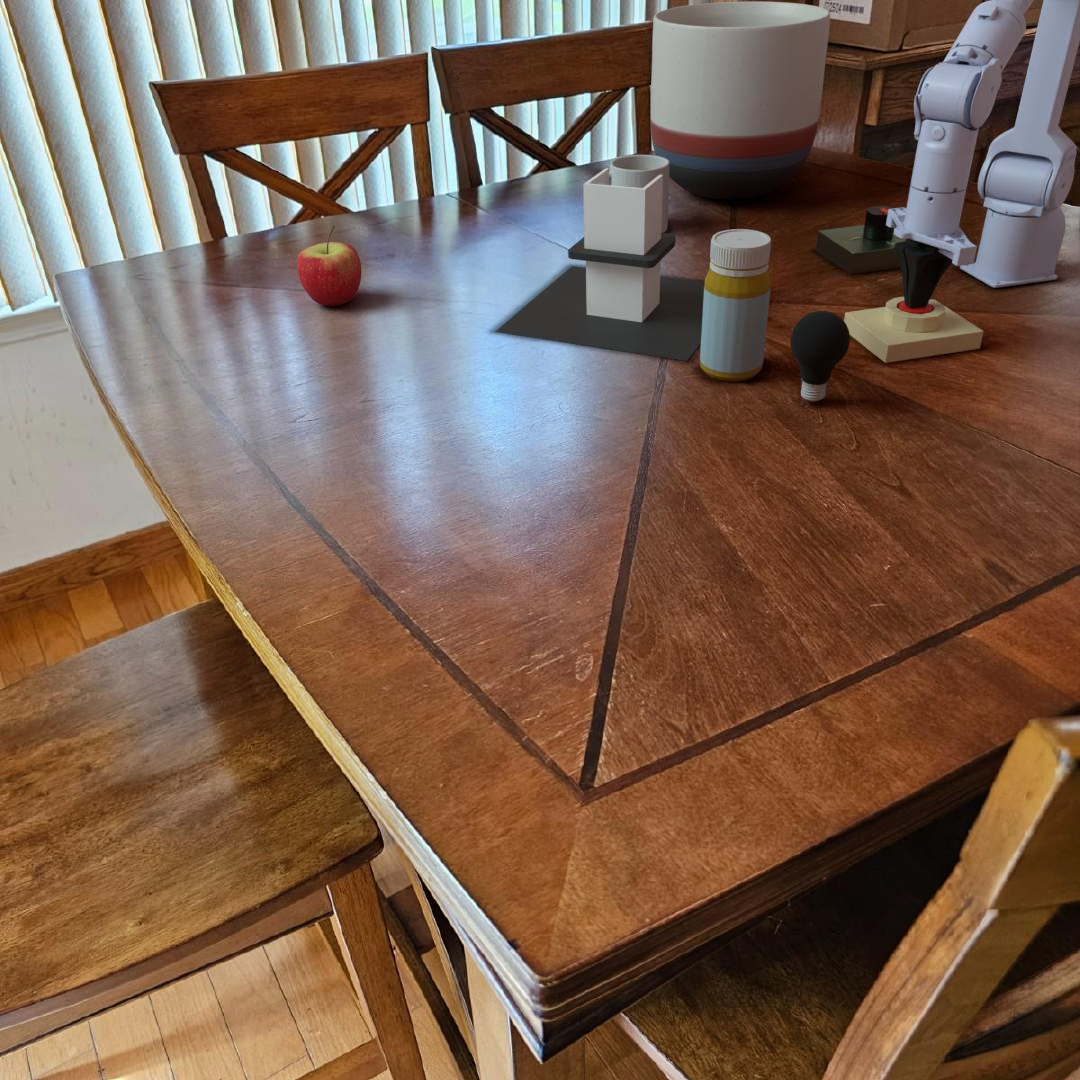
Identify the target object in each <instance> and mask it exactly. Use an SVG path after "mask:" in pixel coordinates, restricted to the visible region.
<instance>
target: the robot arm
mask: <svg viewBox="0 0 1080 1080" xmlns="http://www.w3.org/2000/svg"><path fill="white" fill-rule="evenodd" d="M1034 1H1035V0H987V1H984V2H981V3H980V4H978V5H977V6H976V7H975V8H974V9H973V10H972V12H971V14H970V15H969V17H968V19H967V21H966V22H965V24H964V26H963V27H962V29H961V30H960V33H959V34H958V36H957V38H956V39H955V41H954V43H953V45H952V46H951V48H950V50H949V51H948V53H947V55H946V56H945V58H944V60H943V61H942V62H938V63H937V64H935V65H934V66H931V67H929V68H928V69H927V70H926V71H924V74H923V75H922V77H921V79H920V82H919V85H918V87H917V91H916V95H914V101H913V114H914V119H915V126H914V132H913V135H914V139H915V140H916V141H917V146H916V150H915V156H914V162H913V163H914V164H913V167H912V173H911V180H910V186H909V192H908V197H907V202H906V207H904V206H903V207H901V206H900V207H895V208H894V207H892V208H893V209H889V210H888V216H887V222H886V226H888V227H890V228H894V227H896V228H895V229H894V235H895V236H897V237H899V238H901V239H906V241H904V242H898V243H896V244H895V247H894V250H895V252H896V254H897V257H898V260H899V263H900V267H901V268H900V271H901V278H902V287H903V297H904V301H905V305H906V306H907V307H909V308H910V309H915V308H922V307H926V306H927V304H928V302H929V300H930V299H931V297H932V296H933V294H934V291H935V289H936V288H937V285H938V284H939V282H940V280H941V278H942V277H943V275H944V274H945V273H946V271H947V270H948V269H949V267H950V266H951V265H954V266H956V267H959V270H962V271H963V272H966V273H967V274H969V275H971V276H972V277H974V278H976V279H977V280H979V281H981V282H983V283H984V284H986V285H988V286H989V287H991V288H994V289H999V288H1006V287H1013V286H1019V285H1026V284H1033V283H1040V282H1048V281H1055V280H1057V279H1058V275H1057V274H1055V270H1056V267H1057V263H1058V259H1059V257H1060V256H1059V255H1060V252H1061V248H1062V245H1063V241H1064V237H1065V233H1066V218H1065V217H1066V216H1065V214H1064V212H1063V210H1062V209H1061V208H1060V207H1061V206H1062V205H1063V204H1064V203H1065V201H1066V199H1067V197H1068V195H1069V194H1070V190H1071V188H1072V184H1073V182H1074V181H1073V180H1074V176H1075V162H1076V157H1077V154H1078V153H1077V149H1078V147H1077V145H1076V144H1075V143H1074V141H1073V140H1072V139H1070V137H1069V136H1068V135H1067V134H1066V133H1064V131H1063V130H1062V129H1061V127H1060V126H1059V124H1060V121H1061V116H1062V112H1063V109H1064V104H1065V100H1066V97H1067V92H1068V89H1069V84H1070V81H1071V77H1072V73H1073V69H1074V65H1075V61H1076V57H1077V53H1078V49H1079V45H1080V0H1043V2H1042V6H1041V10H1040V14H1039V18H1038V24H1037V28H1036V32H1035V36H1034V41H1033V44H1032V50H1031V53H1030V58H1029V62H1028V66H1027V70H1026V75H1025V79H1024V84H1023V89H1022V92H1021V97H1020V101H1019V106H1018V110H1017V113H1016V114H1017V115H1016V119H1015V123H1014V126H1013V127H1011V128H1010V129H1008V130H1006V131H1004V132H1002V133H1001V134H1000V135H998V136H997V137H995V138H994V139H993V140H992V142H990V145H989V146H988V151H987V153H986V157H985V160H984V162H983V163H982V165H981V168H980V172H979V175H978V179H977V192H978V194H979V197H980V199H981V200H984V201H983V205H982V206H983V208H987V209H986V215H985V219H984V224H983V227H982V231H981V238H980V242H979V245H978V246H977V245H976V244H974V243H973V242H971V241H970V240H969V238H968V237H967V235H966V233H964V231H963V230H962V228H961V227H960V221H961V216H962V212H963V207H964V203H965V198H966V193H967V187H968V182H969V178H970V173H971V168H972V164H973V159H974V153H975V149H976V144H977V139H978V134H979V130H980V127H982V126H983V125H984V124H985V123H986V121H987V119H988V118H989V116H990V114H991V112H992V111H993V108H994V106H995V102H996V98H997V94H998V92H999V89H1000V87H1001V84H1002V82H1003V79H1002V78H1003V77H1002V73H1003V71H1004V69H1005V67H1006V66H1007V64H1008V62H1009V61H1010V59H1011V57H1012V56H1013V54H1014V52H1015V51H1016V49H1017V48H1018V46H1019V44H1020V42H1021V41H1022V39H1023V38H1024V35H1025V34H1026V29H1027V23H1026V18H1025V13H1026V12H1027V11H1028V9H1029V8H1030V6H1031V5H1032V4H1033V2H1034ZM977 249H978V250H977ZM976 253H977V255H976ZM975 258H976V261H975Z"/></svg>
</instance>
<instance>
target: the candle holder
mask: <svg viewBox="0 0 1080 1080" xmlns="http://www.w3.org/2000/svg"><path fill="white" fill-rule="evenodd" d="M609 171H610V168H607V167H606V168H604V169H602V170H601V171H600V172H598V173H597V174H595V175H594V176H593V177H591V178H590V179H588V180H587V181H586V182H584V183H582V184H583V186H582V187H583V189H582V190H583V237H582V238H580V239H579V240H578V241H577V242H575V244H573V245H572V246H571V247H570V248H568V250H567V258H568V259H570V260H575V261H576V260H577V261H584V262H585V267H584V266H583V267H582V266H577V265H576V266H575V265H571V266H570V267H569V268H568V269H566V270H565V272H563V273H562V274H561V275H560V276H558V277H557V278H555V280H554V281H553V282H551V283H550V284H549V285H548V286H547V287H546V288H544V289H543V290H542V291H541V292H540V293H538V294H537V295H536V296H534V298H533V299H531V300H530V301H529V302H528V303H527V304H525V305H524V306H523V307H522V308H521V309H519V311H517V312H516V313H514V315H513V316H511V317H510V318H509V319H508V320H506V321H505V323H503V324H502V325H501V326H499V328H497V329H496V330H495V332H496V333H503V334H509V335H515V336H523V337H527V338H528V337H529V338H534V339H542V340H548V341H554V342H561V343H567V344H575V345H581V346H587V347H593V348H599V349H606V350H613V351H620V352H627V353H632V354H638V355H639V354H640V355H644V356H645V355H646V356H652V357H658V358H665V359H673V360H678V361H679V360H680V361H685V362H687V361H689V359H690V358H691V357H692V356H693V354H694V353H695V352H696V350H697V349H698V347H699V346H701V334H702V317H703V300H704V285H705V281H698V280H690V279H683V278H682V279H681V278H672V277H665V276H661V264H662V260H663V259H664V258H665V257H666V256H667V255H668V254H669V253H670V252H671V251H672V250H673V249H674V248H675V246H676V235H675V234H673V233H668V232H667V233H666V232H664V233H661V226H662V193H663V175H658V176H657V177H656V178H655V179H654V180H652V181H651V182H650V183H649V184H647V185H646V186H645V187H644V188H635V187H624V186H612V185H610V178H609Z"/></svg>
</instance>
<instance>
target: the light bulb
mask: <svg viewBox="0 0 1080 1080" xmlns="http://www.w3.org/2000/svg"><path fill="white" fill-rule="evenodd" d="M789 341H790V349H791V352H792V355H793V356H794V359H796V360H797V363H798V366H799V373H800V378H801V389H800V395H801V397H802V398H803V399H804V400H806V401H807V402H808V403H809V404H815V403H817V402H819V401H821V400H822V399H824V398H825V397H826V391H827V390H826V389H827V383H828V382H829V380H830V378H831V375H832V373H833V370H834V369H835V367H836V366H837V364H839V363H840V362H841V361H842V360H843V359H844V358H845V356H846V355H847V353H848V351H849V348H850V345H851V335H850V333H849V330H848V327H847V325H846V323H845V322H844V319H843V318H842V317H841V316H839V315H837V314H836V313H834V312H831V311H828V310H827V311H825V310H816V311H812V312H810V313H807V314H805V315H804V316H803V317H801V318H800V319H799V320H798V321H797V323H796V324H795V325H794V327H793V328H792V331H791V334H790V339H789Z"/></svg>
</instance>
